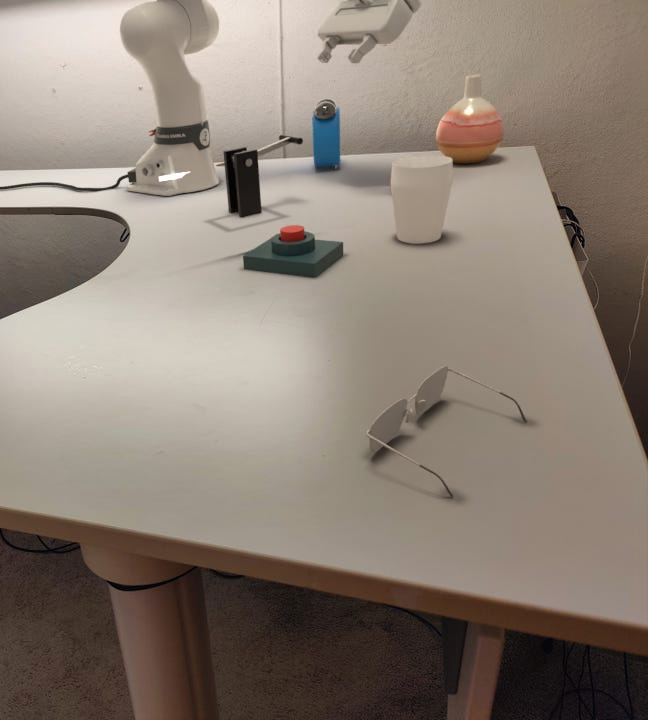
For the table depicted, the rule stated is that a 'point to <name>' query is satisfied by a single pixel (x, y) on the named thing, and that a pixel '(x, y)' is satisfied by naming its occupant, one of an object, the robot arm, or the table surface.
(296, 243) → the button box
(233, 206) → the bracket
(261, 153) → the lever
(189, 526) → the table surface
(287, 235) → the button
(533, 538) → the table surface
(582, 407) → the table surface
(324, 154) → the blue block with ball
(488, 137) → the vase
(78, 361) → the table surface
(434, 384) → the eyeglasses
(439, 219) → the cup
